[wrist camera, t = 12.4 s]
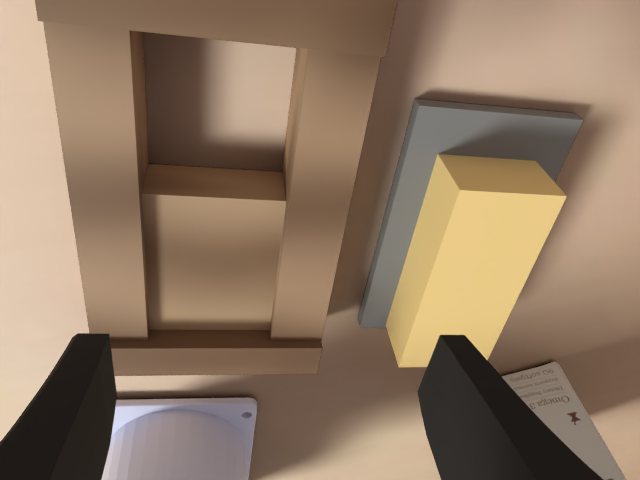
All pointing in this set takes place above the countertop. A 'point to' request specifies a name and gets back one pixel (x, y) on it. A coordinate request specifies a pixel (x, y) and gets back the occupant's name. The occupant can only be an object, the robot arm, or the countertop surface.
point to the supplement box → (564, 415)
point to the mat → (464, 140)
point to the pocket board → (211, 185)
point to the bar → (470, 253)
